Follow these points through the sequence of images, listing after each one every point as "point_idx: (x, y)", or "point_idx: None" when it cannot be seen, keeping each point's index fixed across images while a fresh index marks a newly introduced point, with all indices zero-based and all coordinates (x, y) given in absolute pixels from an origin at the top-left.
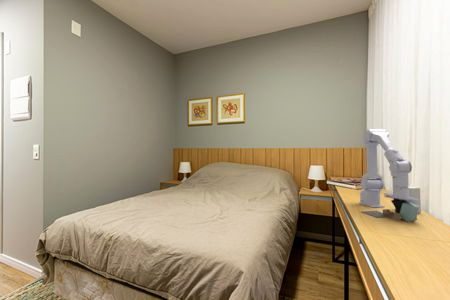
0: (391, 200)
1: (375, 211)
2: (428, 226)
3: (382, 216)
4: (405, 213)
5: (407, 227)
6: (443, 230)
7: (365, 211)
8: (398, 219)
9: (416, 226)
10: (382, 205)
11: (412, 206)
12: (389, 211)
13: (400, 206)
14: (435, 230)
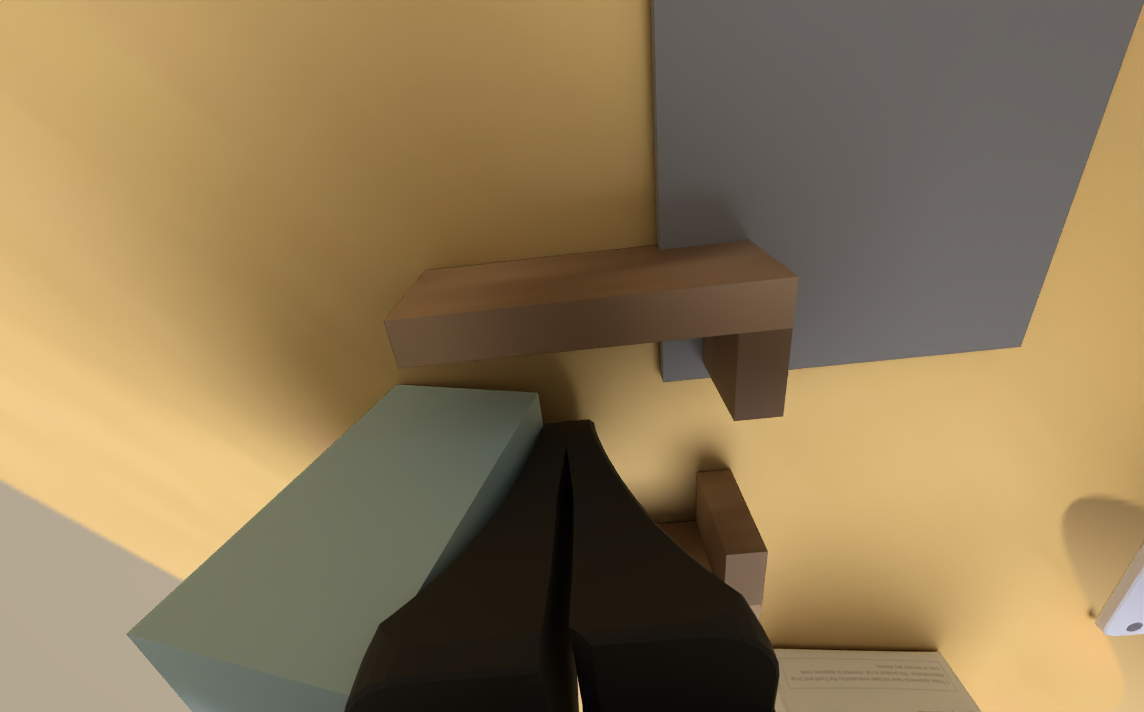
0: (735, 631)
1: (986, 289)
2: (202, 471)
3: (656, 137)
4: (384, 464)
5: (13, 102)
6: (68, 504)
7: (1112, 36)
8: (419, 283)
9: (147, 318)
10: (1136, 629)
11: (196, 690)
12: (613, 305)
13: (467, 559)
14: (23, 420)
